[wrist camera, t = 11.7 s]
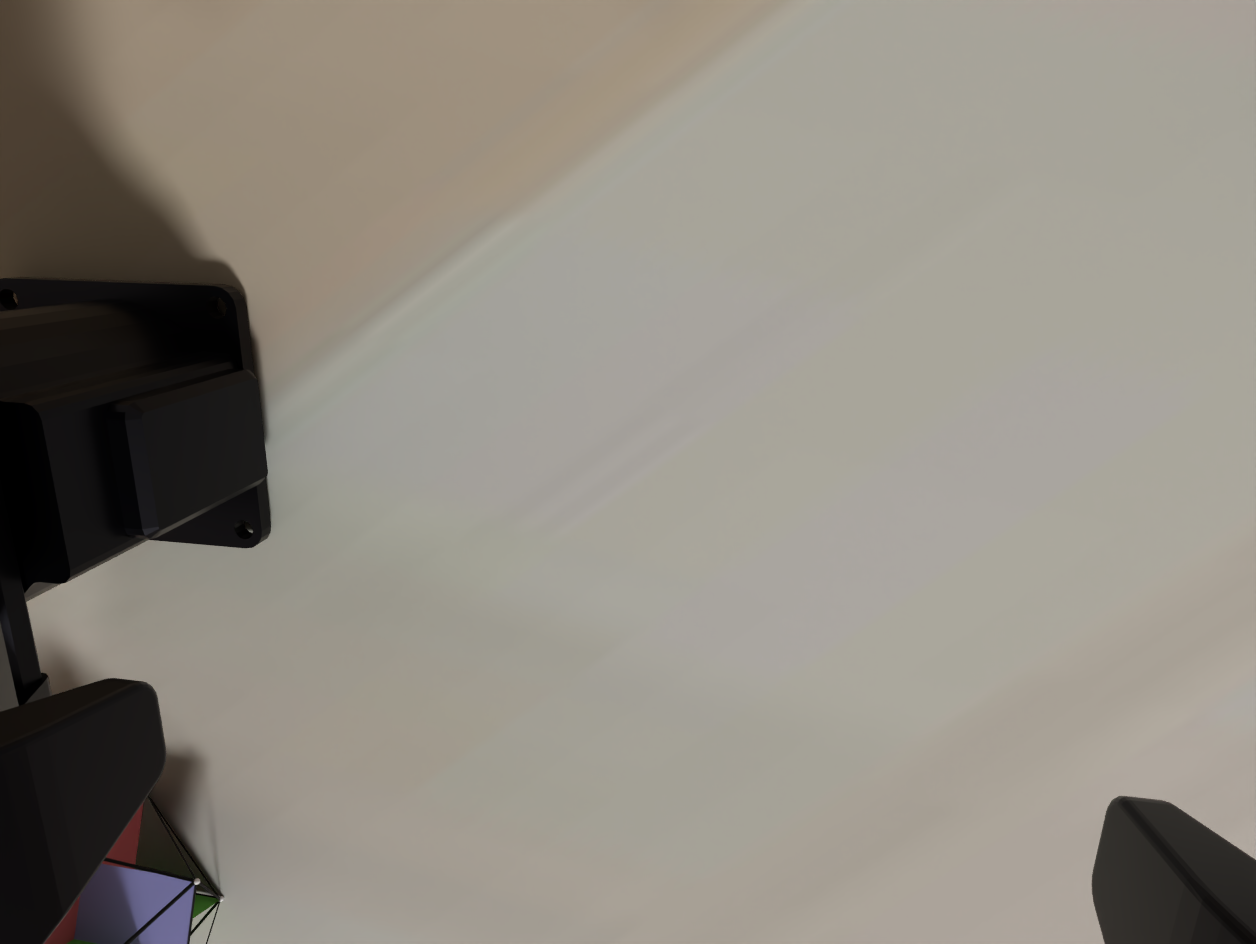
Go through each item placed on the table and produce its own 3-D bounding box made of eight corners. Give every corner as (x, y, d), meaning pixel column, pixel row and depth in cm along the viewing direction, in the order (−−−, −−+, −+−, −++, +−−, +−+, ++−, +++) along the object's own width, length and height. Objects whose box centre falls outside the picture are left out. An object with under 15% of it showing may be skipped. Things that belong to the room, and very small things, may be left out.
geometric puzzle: (-40, 731, 23) (-269, 1097, 18) (191, 767, 22) (11, 1165, 17) (110, 803, 28) (-34, 1094, 24) (299, 834, 27) (186, 1144, 23)
